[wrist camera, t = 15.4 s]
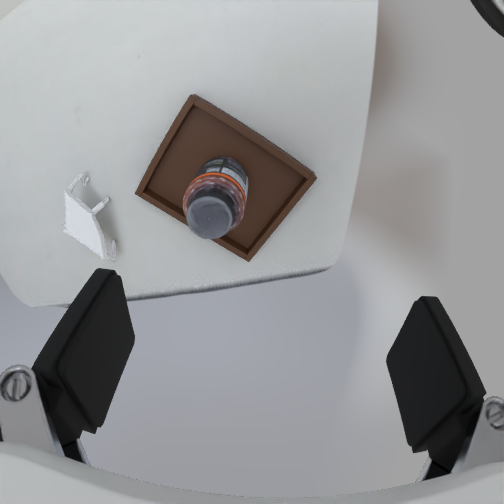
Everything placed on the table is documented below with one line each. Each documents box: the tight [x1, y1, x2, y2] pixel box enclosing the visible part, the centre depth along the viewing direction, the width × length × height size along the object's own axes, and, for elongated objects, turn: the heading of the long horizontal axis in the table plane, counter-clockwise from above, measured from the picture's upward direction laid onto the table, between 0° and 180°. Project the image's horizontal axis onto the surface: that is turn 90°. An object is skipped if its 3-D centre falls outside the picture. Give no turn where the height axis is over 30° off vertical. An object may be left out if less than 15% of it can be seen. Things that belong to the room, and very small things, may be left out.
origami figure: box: [63, 174, 116, 262], centre depth 37 cm, size 12×8×5 cm
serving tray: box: [135, 94, 317, 262], centre depth 35 cm, size 17×14×2 cm
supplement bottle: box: [183, 156, 248, 239], centre depth 31 cm, size 6×6×11 cm
